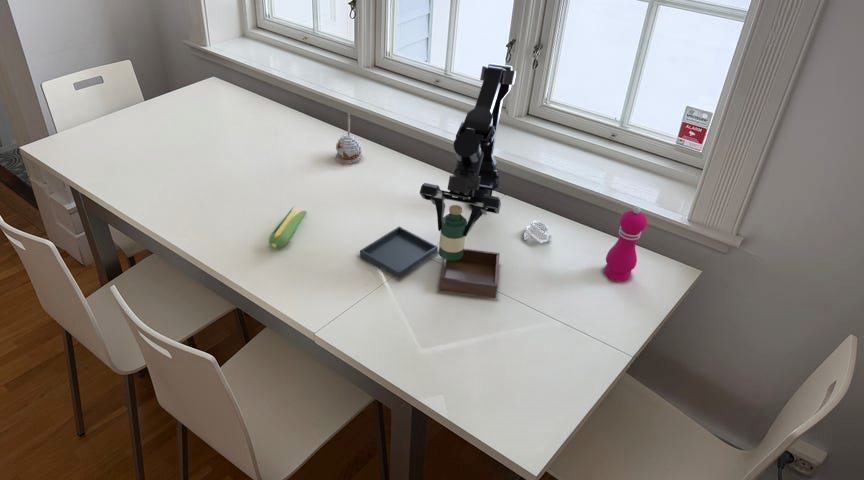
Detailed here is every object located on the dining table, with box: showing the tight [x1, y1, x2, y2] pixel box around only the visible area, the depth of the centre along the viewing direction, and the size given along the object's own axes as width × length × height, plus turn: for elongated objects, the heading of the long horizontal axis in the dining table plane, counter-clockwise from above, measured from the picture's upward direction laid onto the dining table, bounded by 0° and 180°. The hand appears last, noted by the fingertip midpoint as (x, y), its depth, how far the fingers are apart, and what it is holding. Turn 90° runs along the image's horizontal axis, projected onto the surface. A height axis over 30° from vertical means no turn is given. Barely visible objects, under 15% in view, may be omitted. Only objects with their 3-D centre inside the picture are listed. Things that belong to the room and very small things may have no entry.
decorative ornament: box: [335, 113, 363, 164], centre depth 205 cm, size 8×8×15 cm
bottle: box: [438, 204, 468, 261], centre depth 157 cm, size 6×6×13 cm
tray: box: [359, 226, 439, 279], centre depth 170 cm, size 15×13×2 cm
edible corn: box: [268, 205, 307, 250], centre depth 176 cm, size 5×20×5 cm, turn 164°
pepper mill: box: [603, 205, 648, 282], centre depth 161 cm, size 7×7×20 cm
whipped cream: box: [523, 220, 551, 244], centre depth 177 cm, size 8×7×5 cm
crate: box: [438, 248, 501, 299], centre depth 162 cm, size 13×13×4 cm
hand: (451, 233), depth 156 cm, fingers closed on bottle, 6 cm apart
